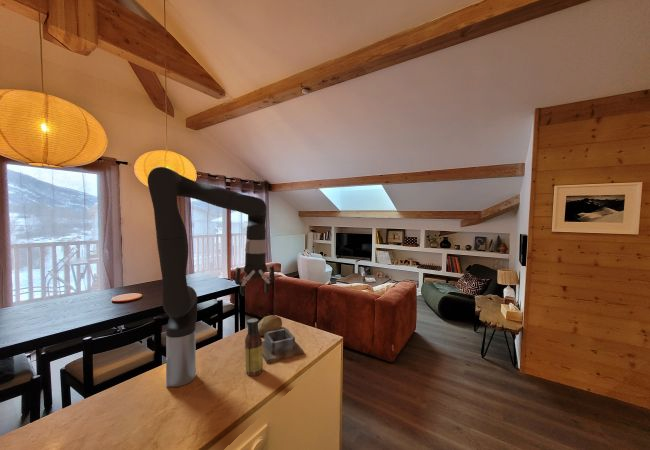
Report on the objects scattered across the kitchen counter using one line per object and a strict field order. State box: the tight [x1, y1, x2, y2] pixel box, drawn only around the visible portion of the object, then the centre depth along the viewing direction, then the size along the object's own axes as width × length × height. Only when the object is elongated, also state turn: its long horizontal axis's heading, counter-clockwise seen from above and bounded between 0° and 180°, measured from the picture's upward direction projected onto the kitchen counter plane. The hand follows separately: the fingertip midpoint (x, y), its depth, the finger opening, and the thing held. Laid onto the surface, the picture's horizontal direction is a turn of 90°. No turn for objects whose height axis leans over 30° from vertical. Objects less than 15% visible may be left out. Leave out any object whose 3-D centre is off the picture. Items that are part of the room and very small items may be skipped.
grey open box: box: [262, 328, 304, 364], centre depth 116 cm, size 16×16×6 cm
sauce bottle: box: [244, 317, 264, 377], centre depth 99 cm, size 7×6×20 cm
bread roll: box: [258, 314, 283, 337], centre depth 134 cm, size 10×15×8 cm, turn 145°
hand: (254, 294), depth 99 cm, fingers open, 8 cm apart
